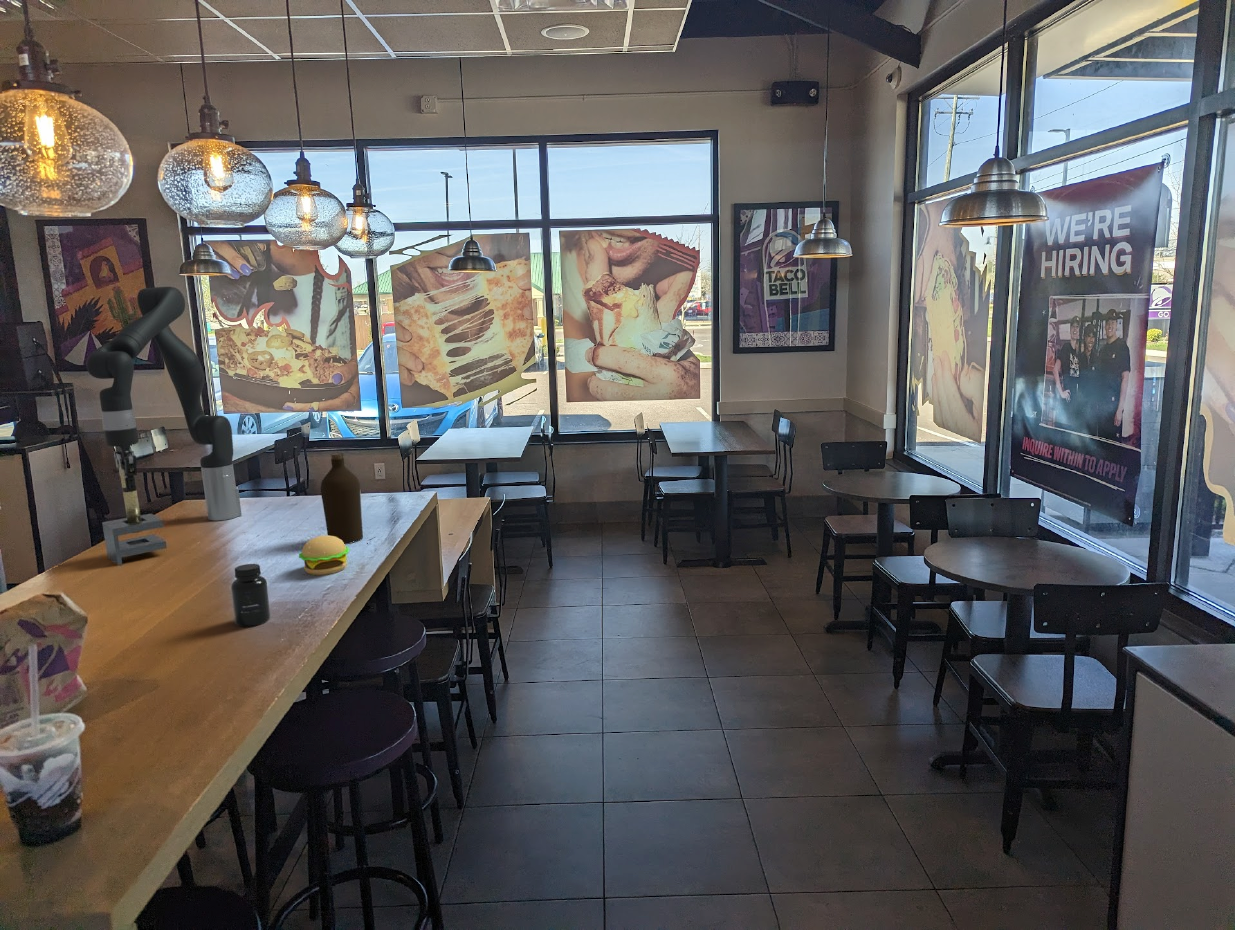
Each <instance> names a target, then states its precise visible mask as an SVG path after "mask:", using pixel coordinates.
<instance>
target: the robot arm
mask: <svg viewBox="0 0 1235 930" xmlns="http://www.w3.org/2000/svg"><path fill="white" fill-rule="evenodd" d="M136 296H137V297H136V300H137V306H138V309H139V312H140V314H141V316H140V317H138V318H137V319H134V320H132V321H131V322H129V323H127V324H126V325H125V326H123V327H122V328H121V329H120V330H119V332H118V333H117V334H116V335H114V337H113V339H112V340H110V341H108V342H106V343H104V344H102V345H101V346H100V347H97V348H96V349H95V350H94V351H92V352H91V353H90V355H89V356H88V358H87V360H86V370H87V373H89V375H91V377H93V378H95V379H99V380H105V379H109V380H110V379H113V382H112V385H111V386H110V387H107V388H106V387H105V388H103V389H101V390H100V391H99V402H100V407H101V408H100V409H101V420H102V427H103V434H104V441H105V445H106V446H107V447H110V448H111V447H112V448H113V447H114V448H115V451H114V452H112V455H113V459H114V462H115V466H116V472H117V474H118V475H119V476H120V470H119V467H120V469H121V470H123V474H124V478H125V484H126V490H127V491H128V492H131V491H136V488H137V483H136V476H137V475H138V473H137V470H138V469H137V456H136V455H135V451H134V450H132V448H131V446H132V445H136V444H138V443H139V436H138V435H139V434H138V430H137V423H136V422H137V421H136V417H135V414H134V409H133V403H132V397H131V394H132V393H131V392H132V385H133V379H134V373H135V363H134V361H133V360H134V359H136V358H138V356H139V355H140V354H141V352H142V351H143V350H144V349H145V348H146V346H147V345H148V344H149V343H150V342H151V341H152V340H153V339H154V341H155V343H156V346H157V347H158V350H159V352H160V354H161V357H162V360H163V362H164V365H165V367H166V370H167V373H168V375H169V377H170V380H171V383H172V384H173V387H174V389H175V391H176V394H177V397H178V399H179V402H180V406H181V407H182V411H183V415H184V418H185V422H186V425H187V430H188V432H189V435H190V436H191V438H192V441H194V442H195V443H196V444H198V445H203V446H204V445H207V446H208V445H209V446H211V445H212V446H211V448H212V449H211V450H212V451H211V452H210V453H209V454H207V455H204V456H202V457H201V458H200V470H201V477H202V483H203V490H204V497H205V498H204V500H205V504H206V505H205V506H206V512H207V513H206V514H207V519H208V520H209V521H224V520H225V521H227V520H230V519H235V518H238V517H241V516H243V515H242V507H241V499H240V498H241V497H240V492H239V491H240V490H239V487H238V486H236V484H237V483H236V478H235V471H234V464H233V458H234V444H233V443H234V441H233V430H232V426H231V422H230V420H229V419H228V418H227V417H226V416H224V415H206V414H205V412H204V409H203V407H202V401H201V398H202V397H201V396H202V392H203V388H204V385H205V379H206V378H205V377H206V376H205V373H204V369H203V366H202V365H201V362H200V358H199V357H198V355H197V353H196V352H195V351H194V350H193V349H192V348H191V347H190V346H189V345H187V344H186V342H185V341H183V340H182V339H180V337H178V336H177V334H176V333H175V332H174V331H173V330H172V329H171V326H170V325H171V324H172V323H174V321H176V320H177V319H178V318H180V317H181V316H182V315H183V314H184V312H185V308H186V300H185V296H184V294H183V292H182V291H181V290H179V289H178V288H176V287H174V286H156V287H146V288H141V289H140V290H139V291H138V292H137V295H136ZM129 469H131V472H128V470H129Z"/></svg>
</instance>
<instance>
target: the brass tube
mask: <svg viewBox="0 0 1235 930" xmlns="http://www.w3.org/2000/svg"><path fill="white" fill-rule="evenodd" d="M119 470H120V475H119V477H120V481H121V489H122V490H121V491H122V496H123V500H124V507H125V513H126V518H127V521H128V524H130V523H135V522H140V521H141V515H142V514H141V509H140V503H139V497H138V490H137V489H138V488H137V487H136V491H131V492H128V491H127V490H126V484H125V478H124V474H123V470H121V469H120V467H119ZM128 472H131V469H129V470H128ZM140 532H142V531H140ZM140 532H135V533H134V534H136V533H137V534H138V533H140Z"/></svg>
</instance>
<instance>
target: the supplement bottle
mask: <svg viewBox="0 0 1235 930" xmlns="http://www.w3.org/2000/svg"><path fill="white" fill-rule="evenodd" d="M261 574H262V573H261V565H259V564H257V563H245V564H242V565H238V566H236V567H235V568H234V578H236V579H234V581H232V583H231V586H230V587H231V588H230V589H231V597H232V605H233V606H232V608H233V613H234V622H235V624H236V625H237V626H239V627H249V628H250V627H256V626H259V625H262V624H265V623H267V622H268V621H269V620H270V618H271V610H270V601H269V592H268V583H267V579H265V577H263V576H261Z"/></svg>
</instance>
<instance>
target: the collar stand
mask: <svg viewBox="0 0 1235 930" xmlns="http://www.w3.org/2000/svg"><path fill="white" fill-rule="evenodd" d="M140 515H141V521H140V522H135V523H130V524H128V521H127V517H124V518H119V519H113V520H108V521H102V522H101V524H102V531H103V536H104V541H105V549H106V554H107V558H108V559H109V558H110V559H111V561H112V562H113V561H114V562H115V563H116V564H115V563H114V562H113V563H114V564H115V565H116V566H118V565H119V566H122V565H123V560H122V558H126V557H130V556H136V555H141V554H145V553H149V552H155V551H158V550H159V551H161V550H165V549H167V548H168V547H167V541H166V540H165V539H163V538H162V537H160V536H158V535H157V534H155V533H153V534H146V535H142V536H138V537H137V536H136V537H132V538H128V539H127V538H126V539H122V540H119V536H123V535H129V534H136V533H135V532H138V533H140V531H141V532H143V531H149V530H155V529H160V528H164V527H165V526H164V521H163V519H162V518H160V517H159V516H156V515H154V514H153V513H148V514H140ZM110 559H109V560H110Z"/></svg>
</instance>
